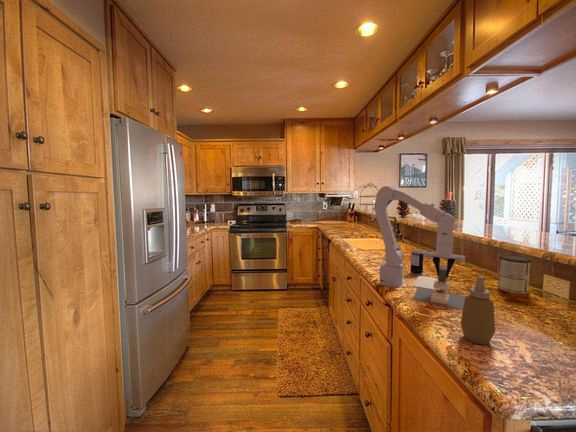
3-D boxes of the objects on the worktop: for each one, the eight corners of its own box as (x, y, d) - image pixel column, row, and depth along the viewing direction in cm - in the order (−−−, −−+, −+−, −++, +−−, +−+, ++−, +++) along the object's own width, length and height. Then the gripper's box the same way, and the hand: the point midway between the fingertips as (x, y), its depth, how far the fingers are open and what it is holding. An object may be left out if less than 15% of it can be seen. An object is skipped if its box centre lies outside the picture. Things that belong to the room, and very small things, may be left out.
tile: (432, 295, 109) (430, 301, 103) (432, 291, 109) (430, 297, 103) (448, 298, 106) (447, 305, 100) (448, 294, 106) (447, 300, 100)
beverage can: (424, 275, 137) (425, 252, 136) (411, 275, 138) (412, 251, 137) (420, 272, 142) (422, 249, 141) (409, 271, 143) (410, 249, 142)
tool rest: (413, 287, 119) (413, 285, 119) (418, 277, 134) (418, 275, 134) (433, 291, 115) (433, 289, 115) (437, 280, 129) (437, 278, 129)
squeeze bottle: (453, 332, 81) (456, 273, 80) (478, 331, 82) (482, 272, 81) (473, 348, 73) (478, 282, 72) (502, 346, 74) (506, 281, 73)
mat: (411, 301, 105) (411, 299, 105) (417, 289, 117) (417, 288, 117) (471, 313, 95) (471, 311, 95) (471, 299, 107) (471, 297, 107)
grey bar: (433, 287, 107) (434, 272, 106) (436, 277, 119) (437, 264, 119) (448, 290, 104) (449, 274, 104) (450, 279, 117) (451, 265, 116)
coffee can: (493, 284, 124) (496, 253, 123) (521, 287, 121) (524, 255, 120) (503, 292, 115) (505, 259, 113) (533, 295, 111) (536, 261, 110)
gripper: (465, 243, 111) (463, 276, 112) (425, 240, 118) (424, 271, 120) (465, 246, 105) (463, 281, 106) (423, 242, 113) (422, 275, 114)
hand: (442, 276), depth 112 cm, fingers closed on grey bar, 2 cm apart
